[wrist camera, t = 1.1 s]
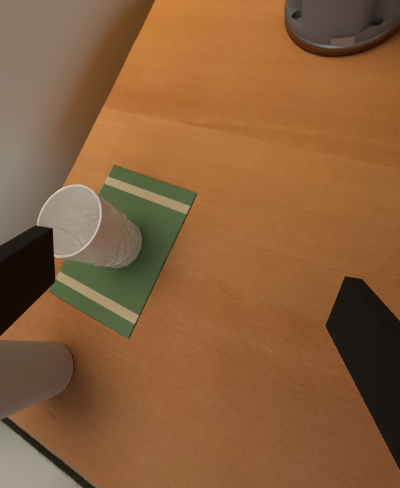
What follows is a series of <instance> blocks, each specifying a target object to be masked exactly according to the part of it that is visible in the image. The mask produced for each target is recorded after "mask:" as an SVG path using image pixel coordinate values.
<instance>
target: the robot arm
mask: <svg viewBox="0 0 400 488" xmlns="http://www.w3.org/2000/svg"><path fill="white" fill-rule="evenodd" d="M285 26H286V30H287V32H288V34H289V36H290V38H291V39H292V40H293V41H294V42H295V43H296V44H297V45H298V46H299V47H301V48H303V49H305V50H307V51H309V52H312V53H315V54H319V55H326V56H342V55H349V54H354V53H358V52H361V51H364V50H367V49H370V48H372V47H374V46H376V45H378V44H380V43H382V42H383V41H385V40H387V39H388V38H389V37H391V36H392V35H393V34H394V33H395V32H397V31H398V30H399V29H400V0H286V2H285ZM54 283H55V264H54V242H53V228H49V227H43V226H37V225H36V226H34V227H32V228H31V229H29V230H27V231H25V232H23V233H22V234H20V235H18V236H17V237H15V238H13V239H11V240H10V241H8V242H6V243H4V244H2V245H1V246H0V336H1V335H2V334H3V333H4V332H5V331H6V330H7V329H8V328H9V327H10V326H11V325H12V324H13V323H14V322H15V321H16V320H17V319H18V318H19V317H20V316H21V315H22V314H23V313H24V312H25V311H26V310H27V309H28V308H29V307H30V306H31V305H32V304H33V303H34V302H35V301H36V300H37V299H38V298H39V297H40V296H41V295H42V294H43V293H44V292H45V291H46V290H47V289H48V288H49V287H50V286H51V285H53V284H54ZM326 328H327V330H328V332H329V334H330V336H331V338H332V340H333V342H334V344H335V346H336V347H337V349H338V351H339V353H340V355H341V357H342V359H343V361H344V363H345V365H346V367H347V369H348V371H349V373H350V375H351V376H352V378H353V380H354V382H355V384H356V386H357V388H358V390H359V392H360V394H361V396H362V398H363V400H364V402H365V404H366V405H367V407H368V409H369V411H370V413H371V415H372V417H373V419H374V421H375V423H376V425H377V427H378V429H379V431H380V433H381V434H382V436H383V438H384V440H385V442H386V444H387V446H388V448H389V450H390V452H391V454H392V456H393V458H394V460H395V462H396V464H397V465H398V467H399V469H400V321H399V320H398V319H397V317H396V316H395V315H394V314H393V313H392V312H391V311H390V310H389V309H388V307H387V306H386V305H385V304H384V303H383V302H382V301H381V300H380V299H379V297H378V296H377V295H376V294H375V293H374V292H373V291H372V290H371V289H370V287H369V286H368V285H367V284H366V283H365V282H364V281H363V280H362V279H358V278H352V277H346V276H345V278H344V280H343V283H342V285H341V288H340V290H339V293H338V296H337V298H336V301H335V303H334V306H333V308H332V311H331V313H330V316H329V318H328V321H327V323H326Z"/></svg>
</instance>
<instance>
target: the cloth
mask: <svg viewBox="0 0 400 488" xmlns="http://www.w3.org/2000/svg"><path fill="white" fill-rule="evenodd" d="M99 195H100V196H101V197H103V198H104V199H105V200H106V201H108V202H109V203H110V204H112V205H113V206H114V207H116V208H117V209H118V210H120V211H121V212H122V213H123V214H124V215H126V216H127V218H128V219H129V220H131V221H132V222H133V223H134V224H135V225H137V226H138V227H139V230H140V232H141V235H142V248H141V250H140V252H139V254H138V256H137V258H136V259H135V260H134V261H133V262H132V263H130V264H129V265H128V266H126V267H122V268H118V269H115V268H110V267H105V266H95V265H90V264H85V263H81V262H76V261H71V260H67V259H66V260H65V261H64V263H63V265H62V267H61V269H60V271H59V273H58V275H57V277H56V279H55V283H54V284H53V285H52V287H51V289H50V291H49V292H51V293H52V294H54V295H56V296H57V297H59V298H61V299H62V300H64V301H66V302H67V303H69V304H71V305H72V306H74V307H76V308H77V309H79V310H80V311H82V312H84V313H85V314H87V315H89V316H90V317H92V318H94V319H95V320H97V321H99V322H100V323H102V324H104V325H105V326H107V327H109V328H110V329H112V330H114V331H115V332H117V333H119V334H120V335H122V336H124V337H125V338H127V339H129V337H130V335H131V333H132V331H133V329H134V327H135V325H136V322H137V320H138V318H139V316H140V314H141V312H142V310H143V308H144V305H145V303H146V301H147V299H148V297H149V295H150V293H151V291H152V288H153V286H154V284H155V282H156V280H157V278H158V276H159V274H160V272H161V269H162V267H163V265H164V263H165V261H166V259H167V257H168V255H169V252H170V250H171V248H172V246H173V244H174V242H175V240H176V238H177V235H178V233H179V231H180V229H181V227H182V225H183V223H184V221H185V218H186V216H187V214H188V212H189V210H190V208H191V206H192V204H193V202H194V199H195V197H196V195H197V193H195V192H192V191H189V190H186V189H183V188H180V187H177V186H174V185H171V184H168V183H165V182H162V181H160V180H157V179H154V178H151V177H148V176H145V175H142V174H139V173H136V172H133V171H130V170H127V169H124V168H121V167H118V166H115V165H114V166H113V168H112V170H111V172H110V174H109V176H108V177H107V179H106V181H105V183H104V185H103V187H102V189H101V191H100V193H99Z"/></svg>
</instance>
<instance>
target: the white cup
mask: <svg viewBox="0 0 400 488" xmlns="http://www.w3.org/2000/svg"><path fill="white" fill-rule="evenodd" d="M37 226H43V227H49V228H53V242H54V257H57V258H62V259H67V260H71V261H76V262H81V263H85V264H90V265H95V266H105V267H110V268H115V269H118V268H122V267H126V266H128V265H129V264H130V263H132V262H133V261H134V260H135V259H136V258H137V256H138V254H139V252H140V250H141V248H142V235H141V232H140V230H139V227H138V226H137V225H135V224H134V223H133V222H132V221H131V220H129V219H128V218H127V216H126V215H124V214H123V213H122V212H121V211H120V210H118V209H117V208H116V207H114V206H113V205H112V204H110V203H109V202H108V201H106V200H105V199H104V198H103V197H101V196H100V195H99V194H97V193H96V192H95V191H93V190H92V189H91V188H89V187H87V186H84V185H80V184H74V185H69V186H66V187H63V188H61V189H59V190H58V191H56V192H55V193H54V194H53V195H52V196H51V197H50V198H49V199H48V200H47V202H46V203H45V204H44V206H43V207H42V209H41V211H40V214H39V217H38V221H37Z"/></svg>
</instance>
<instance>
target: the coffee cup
mask: <svg viewBox="0 0 400 488" xmlns="http://www.w3.org/2000/svg"><path fill="white" fill-rule="evenodd" d="M72 374H73V359H72V355H71V353H70V351H69V350H68V348H67V347H66V346H65V345H63V344H61V343H59V342H44V341H15V340H0V420H1V419H3V418H5V417H8V416H10V415H12V414H15V413H17V412H19V411H21V410H24V409H26V408H28V407H30V406H33V405H35V404H37V403H40V402H42V401H44V400H46V399H49V398H51V397H53V396H56V395H58V394H59V393H61V392H62V391H63V390H64V389H65V388H66V387H67V386H68V384H69V382H70V380H71V377H72Z"/></svg>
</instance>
